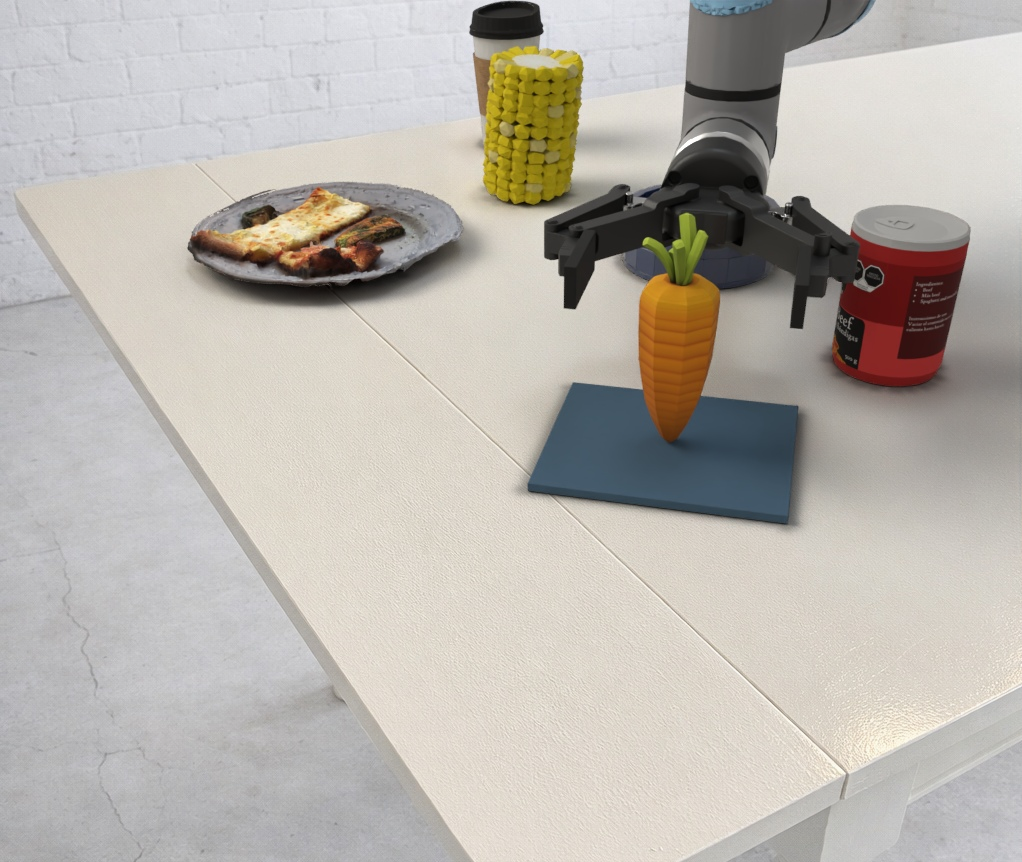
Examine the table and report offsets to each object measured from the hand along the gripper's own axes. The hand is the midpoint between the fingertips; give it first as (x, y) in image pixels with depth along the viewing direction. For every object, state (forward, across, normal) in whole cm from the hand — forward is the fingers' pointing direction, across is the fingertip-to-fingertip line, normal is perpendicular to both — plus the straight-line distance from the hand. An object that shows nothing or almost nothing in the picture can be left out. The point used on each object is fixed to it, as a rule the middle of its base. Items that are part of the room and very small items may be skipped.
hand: (682, 297), depth 67 cm
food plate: (-31, +36, -12) cm, 49 cm away
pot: (-36, +2, -12) cm, 37 cm away
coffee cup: (-68, +28, -12) cm, 74 cm away
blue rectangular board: (-2, 0, -12) cm, 12 cm away
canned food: (-18, -14, -12) cm, 25 cm away
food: (-51, +21, -12) cm, 56 cm away
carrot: (-2, 0, -11) cm, 11 cm away
